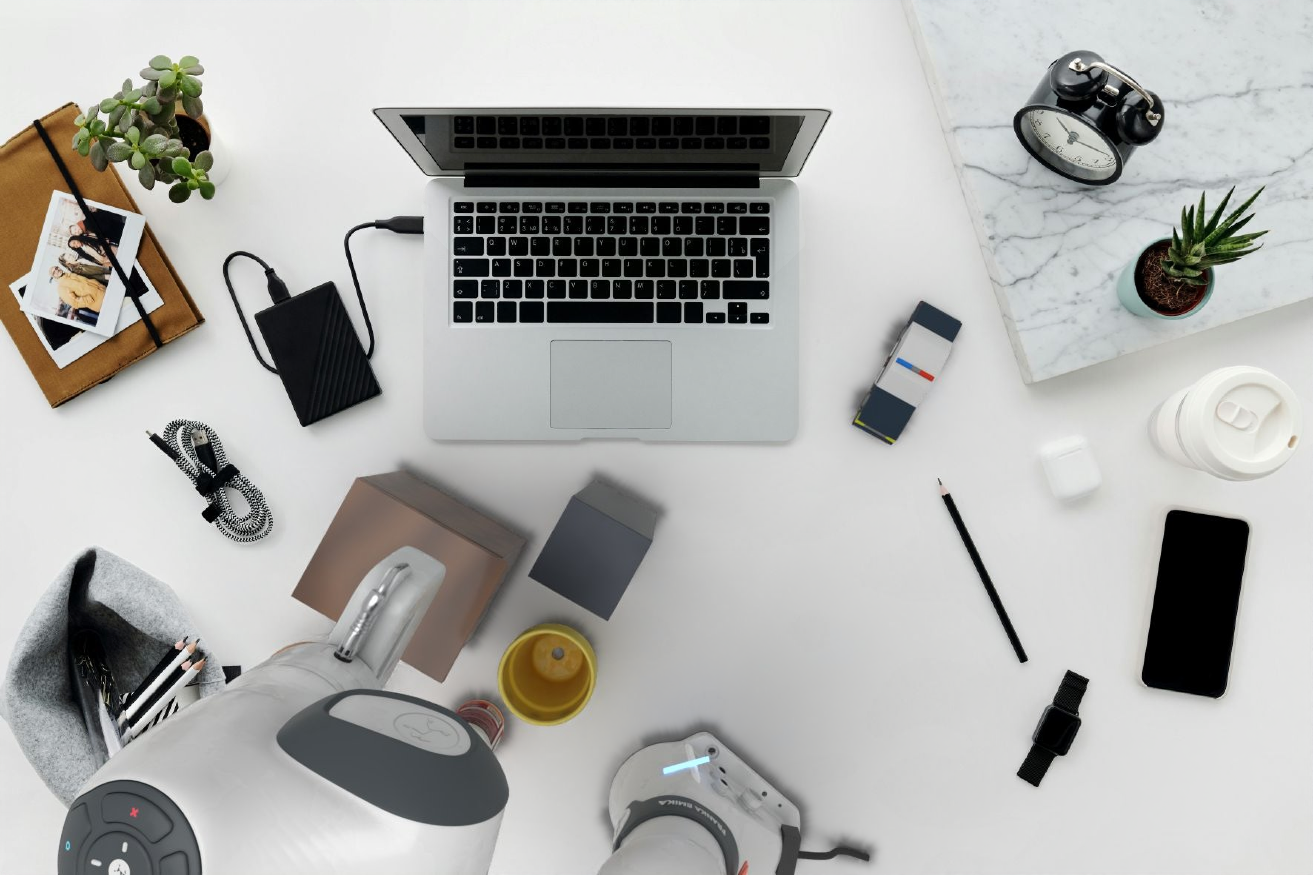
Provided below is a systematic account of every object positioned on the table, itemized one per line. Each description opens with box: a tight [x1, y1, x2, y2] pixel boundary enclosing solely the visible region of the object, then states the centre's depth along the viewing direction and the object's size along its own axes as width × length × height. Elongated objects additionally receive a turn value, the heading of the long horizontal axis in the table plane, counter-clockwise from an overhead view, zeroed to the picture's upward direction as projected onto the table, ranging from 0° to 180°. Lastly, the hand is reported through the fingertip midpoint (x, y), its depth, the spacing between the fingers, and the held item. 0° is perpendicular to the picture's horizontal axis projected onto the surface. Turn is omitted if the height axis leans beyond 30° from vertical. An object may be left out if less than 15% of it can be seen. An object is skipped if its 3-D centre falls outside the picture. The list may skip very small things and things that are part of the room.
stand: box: [527, 478, 657, 622], centre depth 79 cm, size 8×8×24 cm
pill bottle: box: [454, 699, 505, 754], centre depth 86 cm, size 6×6×11 cm
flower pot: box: [496, 622, 598, 727], centre depth 87 cm, size 10×10×10 cm
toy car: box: [851, 300, 963, 446], centre depth 88 cm, size 5×16×5 cm, turn 151°
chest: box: [359, 470, 528, 650], centre depth 85 cm, size 17×14×13 cm
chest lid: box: [290, 476, 510, 684], centre depth 78 cm, size 18×14×1 cm
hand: (387, 655), depth 61 cm, fingers closed
